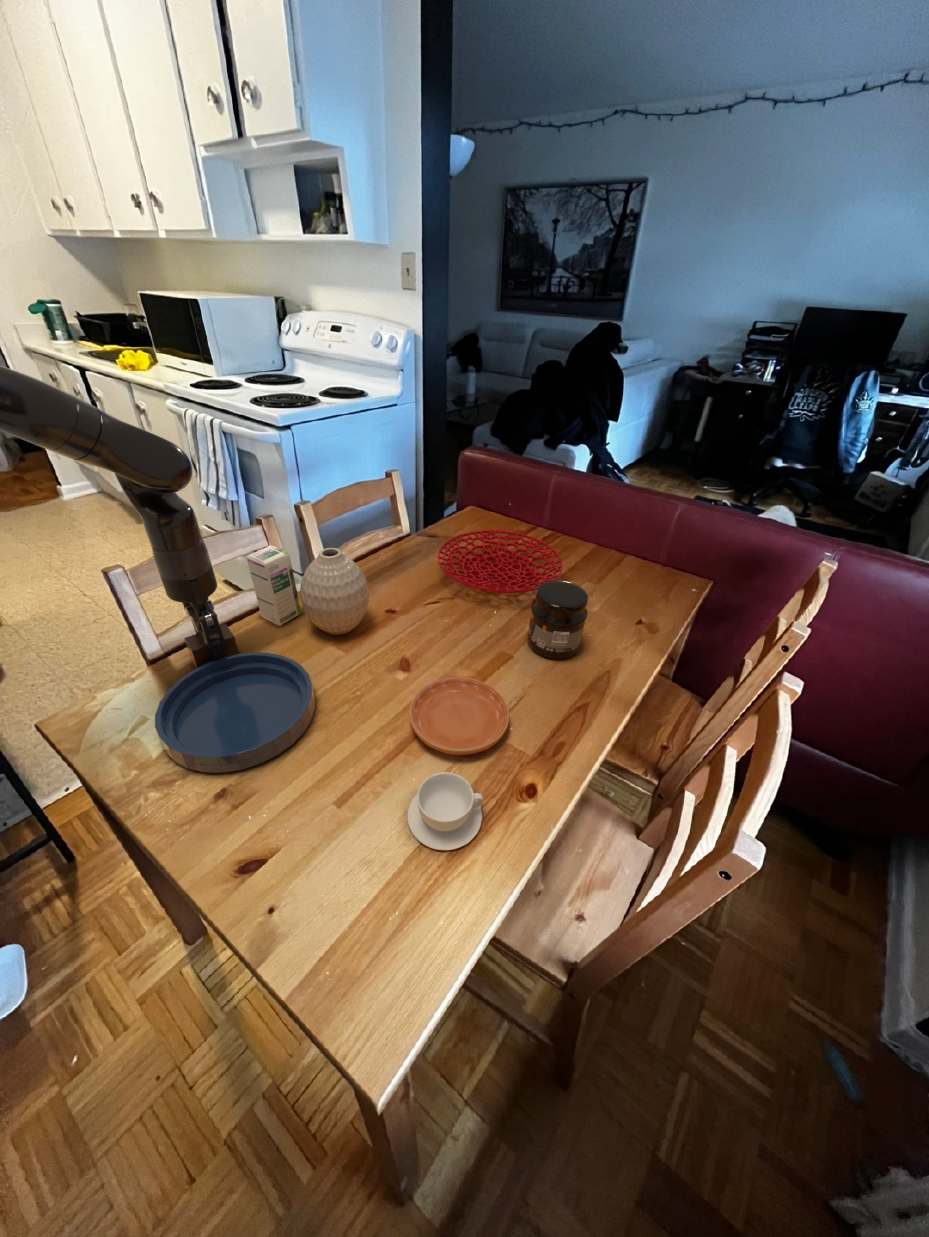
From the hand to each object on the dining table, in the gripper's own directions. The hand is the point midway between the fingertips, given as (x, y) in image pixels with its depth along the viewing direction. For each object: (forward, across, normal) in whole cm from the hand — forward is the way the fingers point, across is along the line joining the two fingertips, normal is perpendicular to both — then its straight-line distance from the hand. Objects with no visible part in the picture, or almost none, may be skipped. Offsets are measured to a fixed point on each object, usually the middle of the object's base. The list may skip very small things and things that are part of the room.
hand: (210, 645), depth 88 cm
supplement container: (+4, +33, +54) cm, 64 cm away
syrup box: (+4, -7, +15) cm, 17 cm away
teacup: (+3, +50, +14) cm, 52 cm away
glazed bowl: (+3, +16, -1) cm, 17 cm away
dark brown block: (+4, +1, 0) cm, 4 cm away
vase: (+4, +3, +23) cm, 24 cm away
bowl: (+4, +7, +63) cm, 64 cm away
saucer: (+3, +38, +26) cm, 46 cm away
